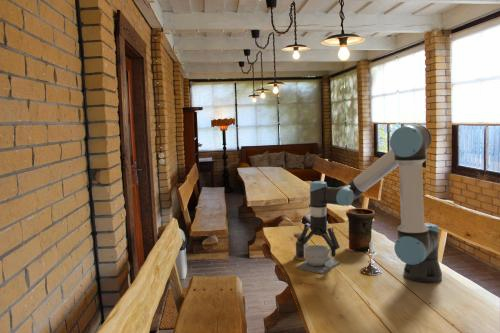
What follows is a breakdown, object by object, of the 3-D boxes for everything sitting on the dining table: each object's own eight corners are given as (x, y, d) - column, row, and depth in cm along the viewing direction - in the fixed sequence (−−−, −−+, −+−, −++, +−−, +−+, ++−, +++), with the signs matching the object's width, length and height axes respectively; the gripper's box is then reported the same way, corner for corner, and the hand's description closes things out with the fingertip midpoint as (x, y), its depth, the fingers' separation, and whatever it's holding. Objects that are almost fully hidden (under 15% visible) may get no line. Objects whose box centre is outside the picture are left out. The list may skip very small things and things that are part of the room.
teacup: (302, 266, 194) (302, 249, 193) (307, 259, 204) (307, 242, 203) (332, 270, 189) (332, 252, 188) (337, 262, 199) (337, 245, 198)
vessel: (363, 242, 231) (364, 206, 228) (379, 250, 217) (380, 212, 214) (340, 245, 226) (340, 209, 223) (355, 254, 213) (355, 215, 210)
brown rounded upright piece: (311, 257, 208) (311, 234, 207) (303, 261, 203) (303, 237, 201) (299, 255, 213) (299, 231, 211) (291, 258, 207) (291, 234, 206)
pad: (339, 263, 199) (339, 262, 199) (322, 274, 187) (322, 272, 187) (315, 258, 207) (315, 256, 207) (297, 267, 195) (297, 266, 195)
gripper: (347, 217, 189) (347, 263, 192) (299, 210, 205) (300, 253, 207) (339, 220, 183) (339, 268, 186) (291, 213, 199) (291, 257, 202)
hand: (318, 260), depth 197 cm, fingers open, 13 cm apart
